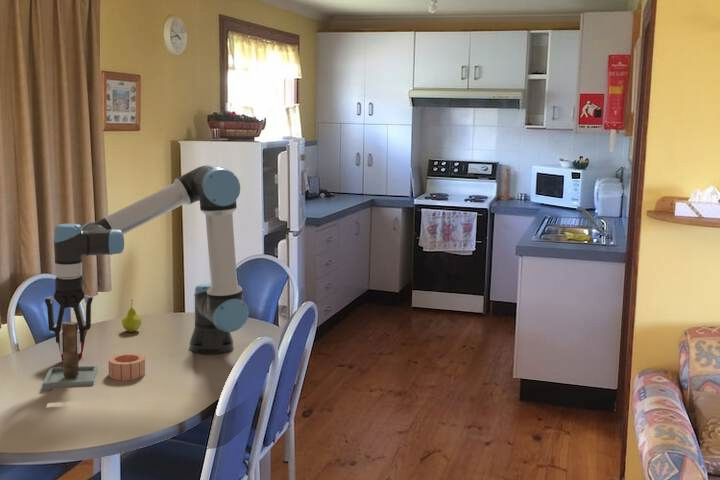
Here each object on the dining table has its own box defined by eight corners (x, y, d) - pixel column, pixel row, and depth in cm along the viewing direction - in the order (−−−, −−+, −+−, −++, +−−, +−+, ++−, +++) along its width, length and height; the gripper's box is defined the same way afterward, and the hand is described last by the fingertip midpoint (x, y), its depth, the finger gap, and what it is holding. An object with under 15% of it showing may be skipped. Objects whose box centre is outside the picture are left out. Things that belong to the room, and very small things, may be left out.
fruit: (137, 334, 269) (137, 303, 268) (119, 333, 269) (119, 302, 268) (143, 329, 276) (143, 298, 274) (125, 328, 276) (125, 297, 274)
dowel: (79, 372, 223) (78, 321, 220) (77, 377, 219) (76, 325, 216) (64, 372, 222) (63, 321, 219) (62, 377, 217) (61, 325, 215)
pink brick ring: (145, 370, 232) (145, 352, 231) (144, 382, 222) (144, 363, 221) (110, 372, 229) (110, 353, 228) (107, 384, 219) (107, 365, 218)
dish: (98, 372, 229) (98, 365, 228) (93, 388, 215) (93, 380, 215) (50, 374, 225) (50, 367, 225) (42, 390, 212) (42, 383, 212)
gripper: (100, 273, 221) (102, 347, 225) (39, 274, 217) (41, 349, 220) (98, 278, 214) (99, 355, 218) (35, 279, 209) (37, 357, 213)
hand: (70, 352), depth 219 cm, fingers closed on dowel, 4 cm apart
